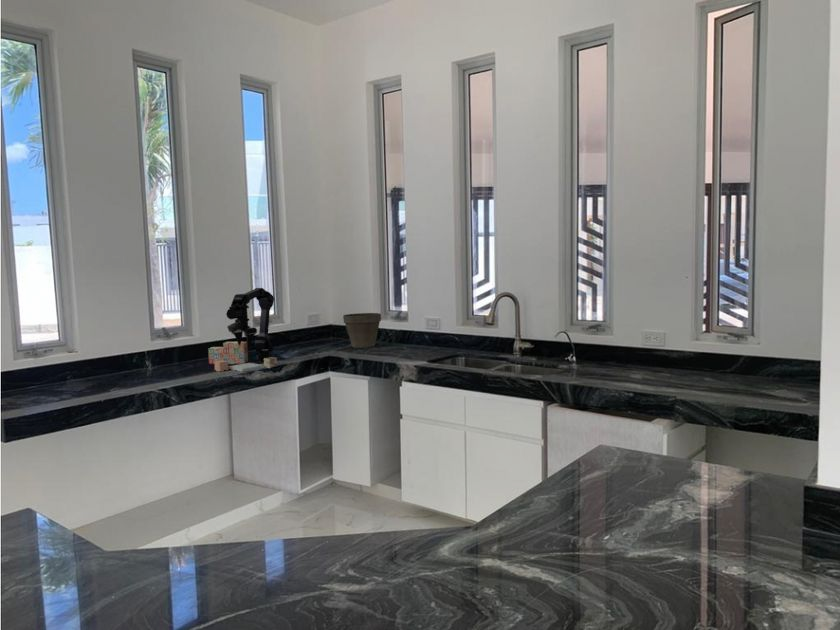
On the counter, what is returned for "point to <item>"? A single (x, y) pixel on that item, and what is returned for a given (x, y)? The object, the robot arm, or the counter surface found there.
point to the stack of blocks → (229, 353)
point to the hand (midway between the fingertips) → (244, 345)
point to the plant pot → (362, 328)
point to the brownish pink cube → (221, 365)
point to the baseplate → (246, 367)
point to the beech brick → (270, 362)
